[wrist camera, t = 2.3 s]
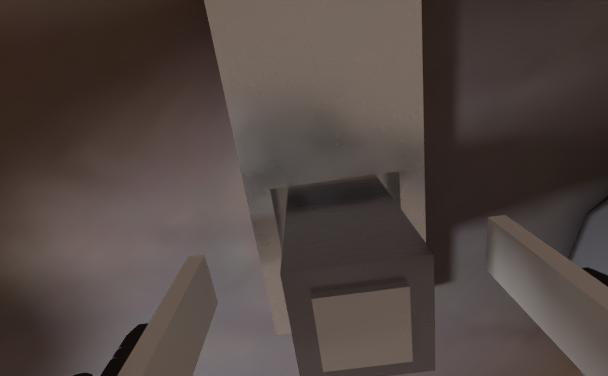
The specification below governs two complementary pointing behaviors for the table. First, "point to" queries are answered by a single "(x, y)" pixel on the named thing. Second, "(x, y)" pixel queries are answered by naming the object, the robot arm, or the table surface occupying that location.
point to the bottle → (592, 241)
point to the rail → (320, 106)
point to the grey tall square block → (356, 283)
